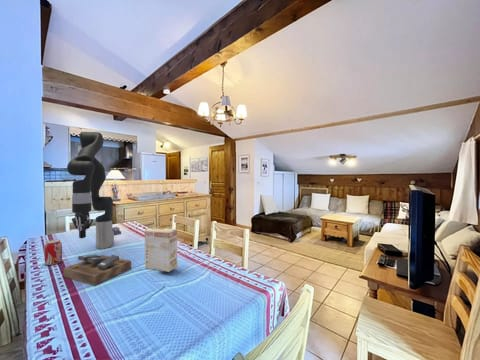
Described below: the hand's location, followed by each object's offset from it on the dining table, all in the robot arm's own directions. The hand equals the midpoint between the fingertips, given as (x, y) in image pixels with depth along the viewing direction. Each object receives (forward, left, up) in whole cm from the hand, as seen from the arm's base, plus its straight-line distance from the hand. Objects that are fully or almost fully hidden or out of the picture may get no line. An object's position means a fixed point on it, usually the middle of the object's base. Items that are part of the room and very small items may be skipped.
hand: (82, 237), depth 101 cm
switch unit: (-3, +7, -17) cm, 19 cm away
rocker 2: (-3, +7, -11) cm, 13 cm away
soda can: (-1, -27, -17) cm, 32 cm away
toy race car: (-47, -48, -18) cm, 69 cm away
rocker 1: (-3, 0, -11) cm, 11 cm away
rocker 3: (-3, +14, -11) cm, 18 cm away
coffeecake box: (-19, +31, -17) cm, 40 cm away
